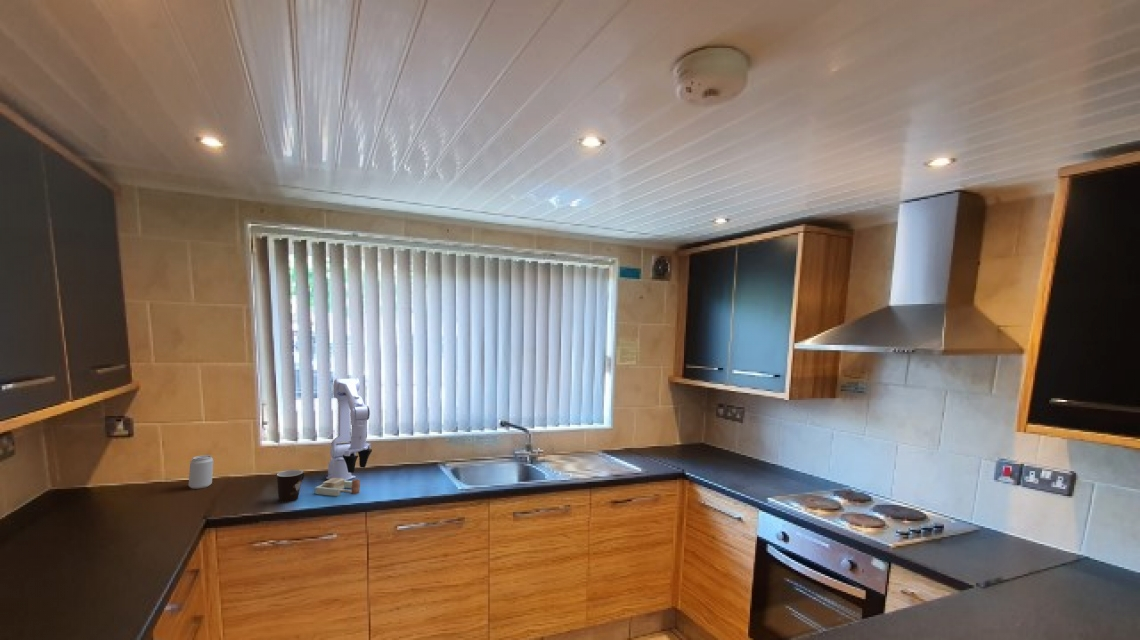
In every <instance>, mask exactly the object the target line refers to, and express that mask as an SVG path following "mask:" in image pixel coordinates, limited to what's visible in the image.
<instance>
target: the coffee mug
mask: <svg viewBox="0 0 1140 640" xmlns="http://www.w3.org/2000/svg"><path fill="white" fill-rule="evenodd" d="M304 478H305V473H304V471H303V470H299V469H292V470H291V469H290V470H289V469H288V470H283V471H280V472H278V473H277V474H276V480H277V493H278V495H277V496H278V502H280V503H292V502H296V501H297V500H298V499H299V496H300V489H301V484H302V482H303V480H304Z"/></svg>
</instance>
